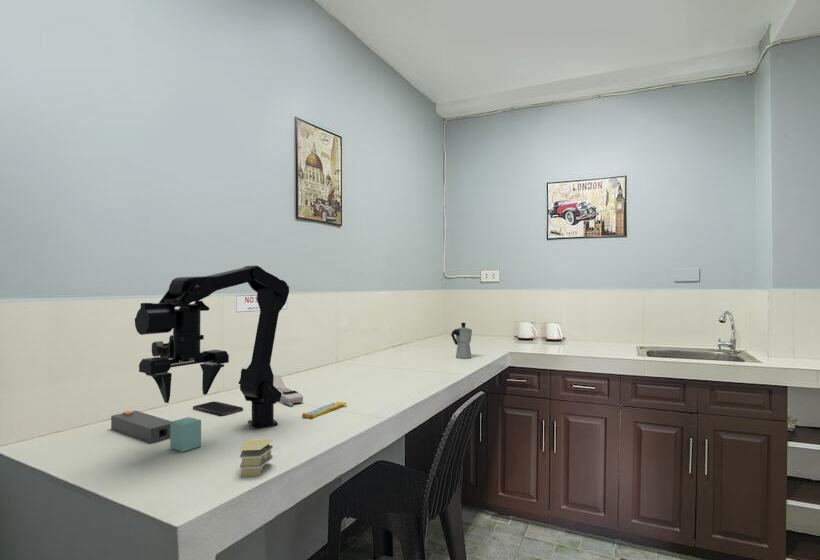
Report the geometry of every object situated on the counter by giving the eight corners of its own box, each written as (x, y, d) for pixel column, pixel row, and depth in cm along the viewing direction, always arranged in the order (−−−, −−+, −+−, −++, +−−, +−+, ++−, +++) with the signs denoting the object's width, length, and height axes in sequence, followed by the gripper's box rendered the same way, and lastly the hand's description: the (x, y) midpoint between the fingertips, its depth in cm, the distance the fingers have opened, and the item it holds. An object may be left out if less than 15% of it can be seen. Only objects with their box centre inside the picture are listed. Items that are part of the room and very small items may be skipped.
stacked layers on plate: (273, 480, 89) (273, 452, 89) (225, 482, 88) (225, 453, 88) (282, 460, 99) (282, 435, 99) (240, 462, 98) (240, 436, 98)
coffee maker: (465, 355, 243) (465, 321, 243) (478, 357, 236) (478, 322, 237) (445, 358, 234) (445, 323, 234) (458, 360, 227) (457, 324, 227)
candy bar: (310, 421, 127) (310, 415, 128) (299, 419, 130) (299, 412, 130) (347, 407, 142) (347, 401, 142) (336, 405, 144) (336, 399, 144)
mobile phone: (279, 374, 164) (306, 386, 144) (279, 390, 164) (307, 405, 144) (262, 376, 161) (288, 389, 140) (262, 393, 161) (288, 408, 140)
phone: (221, 414, 131) (191, 406, 139) (221, 418, 131) (191, 410, 139) (244, 407, 138) (214, 400, 146) (244, 411, 138) (214, 404, 146)
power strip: (175, 436, 114) (175, 420, 114) (150, 443, 109) (150, 426, 109) (135, 423, 125) (135, 408, 125) (111, 429, 120) (111, 413, 120)
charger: (201, 446, 106) (201, 420, 106) (182, 452, 103) (182, 425, 103) (182, 440, 111) (182, 415, 111) (164, 445, 107) (164, 419, 107)
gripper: (203, 326, 118) (203, 386, 118) (126, 332, 103) (126, 402, 102) (230, 328, 112) (230, 392, 112) (152, 335, 96) (152, 409, 96)
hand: (186, 398), depth 106 cm, fingers open, 9 cm apart
